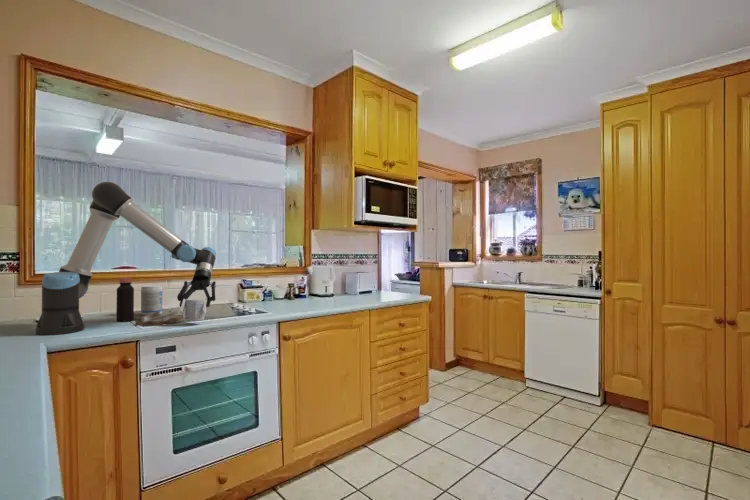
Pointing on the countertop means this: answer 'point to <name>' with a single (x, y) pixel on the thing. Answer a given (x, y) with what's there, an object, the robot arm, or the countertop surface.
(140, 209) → the robot arm
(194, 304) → the medicine box
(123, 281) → the bottle
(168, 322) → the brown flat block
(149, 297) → the supplement tub
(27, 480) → the countertop surface
